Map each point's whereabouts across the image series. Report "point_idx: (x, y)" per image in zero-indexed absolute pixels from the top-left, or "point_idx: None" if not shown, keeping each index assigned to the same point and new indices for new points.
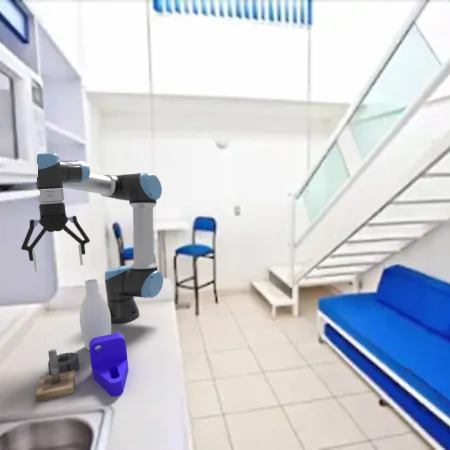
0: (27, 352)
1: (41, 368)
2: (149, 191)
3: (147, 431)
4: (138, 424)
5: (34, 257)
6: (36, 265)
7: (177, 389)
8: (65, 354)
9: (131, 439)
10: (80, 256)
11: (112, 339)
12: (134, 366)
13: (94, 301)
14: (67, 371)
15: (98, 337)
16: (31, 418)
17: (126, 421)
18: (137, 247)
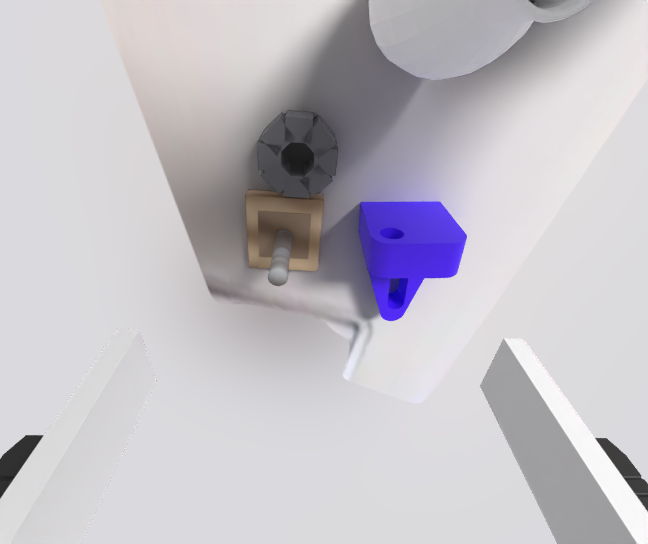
0: None
1: (233, 97)
2: None
3: (396, 379)
4: (391, 367)
5: (83, 515)
6: (134, 424)
7: (473, 327)
8: (303, 129)
9: (376, 383)
10: (525, 460)
11: (429, 277)
12: None
13: (479, 52)
14: (307, 200)
15: (400, 247)
16: (251, 300)
17: (380, 357)
18: None
